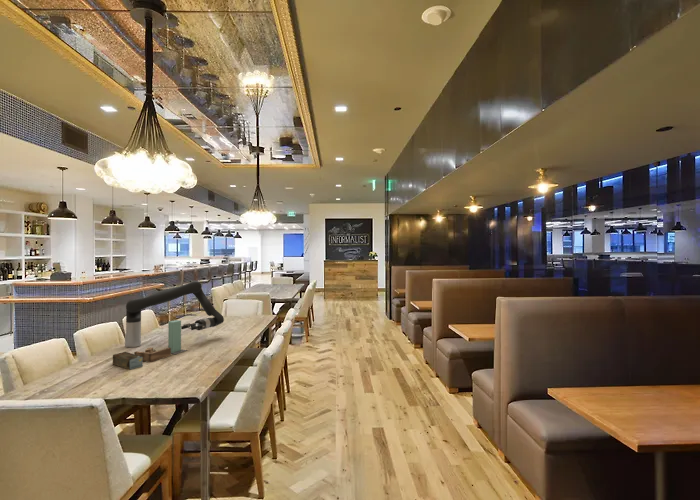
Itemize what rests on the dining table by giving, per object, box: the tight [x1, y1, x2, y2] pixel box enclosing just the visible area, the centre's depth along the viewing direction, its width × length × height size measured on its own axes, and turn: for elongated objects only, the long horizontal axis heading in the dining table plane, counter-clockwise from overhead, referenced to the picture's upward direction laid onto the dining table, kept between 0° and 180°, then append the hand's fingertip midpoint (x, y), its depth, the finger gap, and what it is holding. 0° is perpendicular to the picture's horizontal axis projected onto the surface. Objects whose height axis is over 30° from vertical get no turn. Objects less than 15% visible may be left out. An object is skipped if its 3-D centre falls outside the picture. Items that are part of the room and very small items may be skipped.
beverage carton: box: [112, 351, 144, 370], centre depth 223 cm, size 8×19×7 cm, turn 58°
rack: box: [133, 347, 172, 363], centre depth 240 cm, size 14×16×5 cm
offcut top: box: [144, 347, 154, 353], centre depth 240 cm, size 3×6×3 cm, turn 15°
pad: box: [171, 348, 188, 356], centre depth 254 cm, size 11×11×1 cm
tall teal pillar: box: [167, 319, 182, 353], centre depth 254 cm, size 4×7×20 cm, turn 162°
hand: (186, 328), depth 264 cm, fingers open, 8 cm apart
